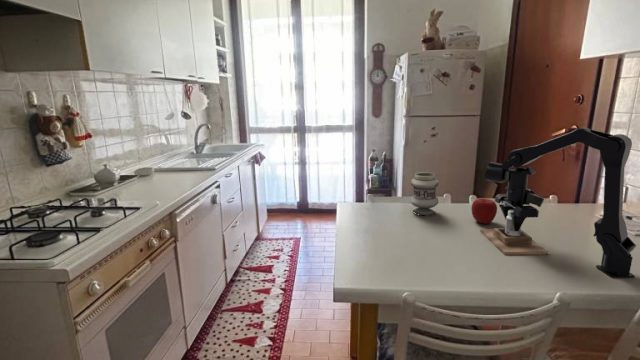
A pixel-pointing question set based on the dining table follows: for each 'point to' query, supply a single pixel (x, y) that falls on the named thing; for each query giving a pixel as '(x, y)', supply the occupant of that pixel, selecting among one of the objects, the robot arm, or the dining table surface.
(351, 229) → the dining table surface
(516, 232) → the pill bottle
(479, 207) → the apple
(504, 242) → the wooden tray with holder
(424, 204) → the apothecary jar
